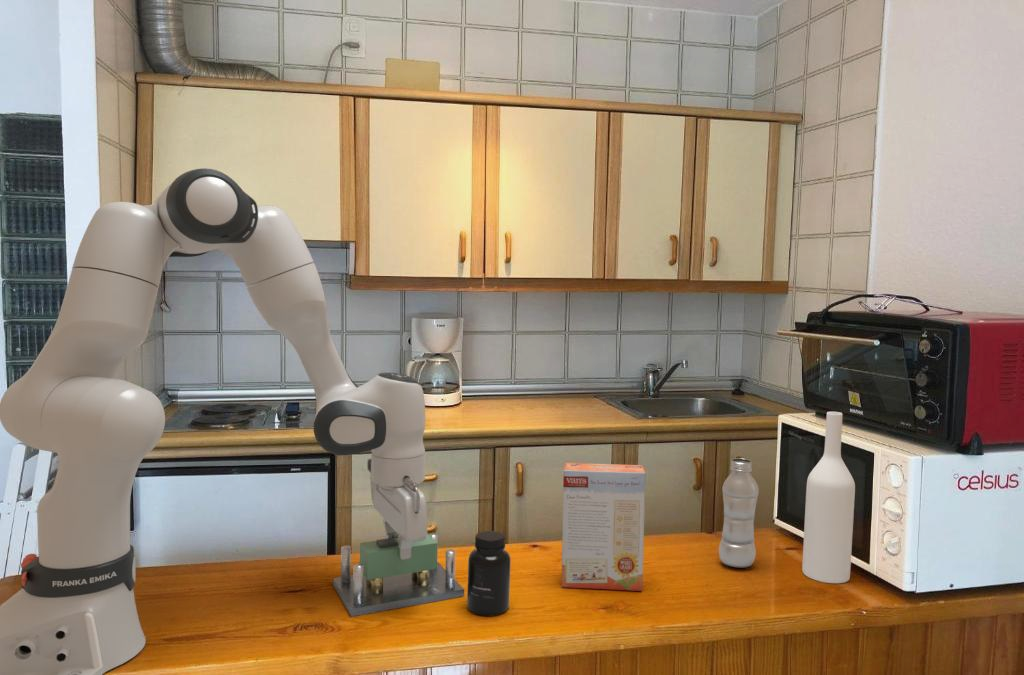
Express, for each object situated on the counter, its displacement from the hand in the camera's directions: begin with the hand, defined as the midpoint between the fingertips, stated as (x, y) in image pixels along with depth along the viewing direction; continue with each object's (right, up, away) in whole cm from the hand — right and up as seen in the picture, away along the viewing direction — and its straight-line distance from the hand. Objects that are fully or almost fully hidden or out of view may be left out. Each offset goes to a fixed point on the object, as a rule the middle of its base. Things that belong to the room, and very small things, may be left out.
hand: (398, 550), depth 127 cm
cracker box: (+35, -7, +5) cm, 36 cm away
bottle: (+77, -8, +11) cm, 78 cm away
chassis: (0, -7, +1) cm, 7 cm away
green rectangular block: (0, -3, 0) cm, 3 cm away
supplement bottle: (+15, -8, -5) cm, 18 cm away
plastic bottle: (+61, -7, +14) cm, 63 cm away
